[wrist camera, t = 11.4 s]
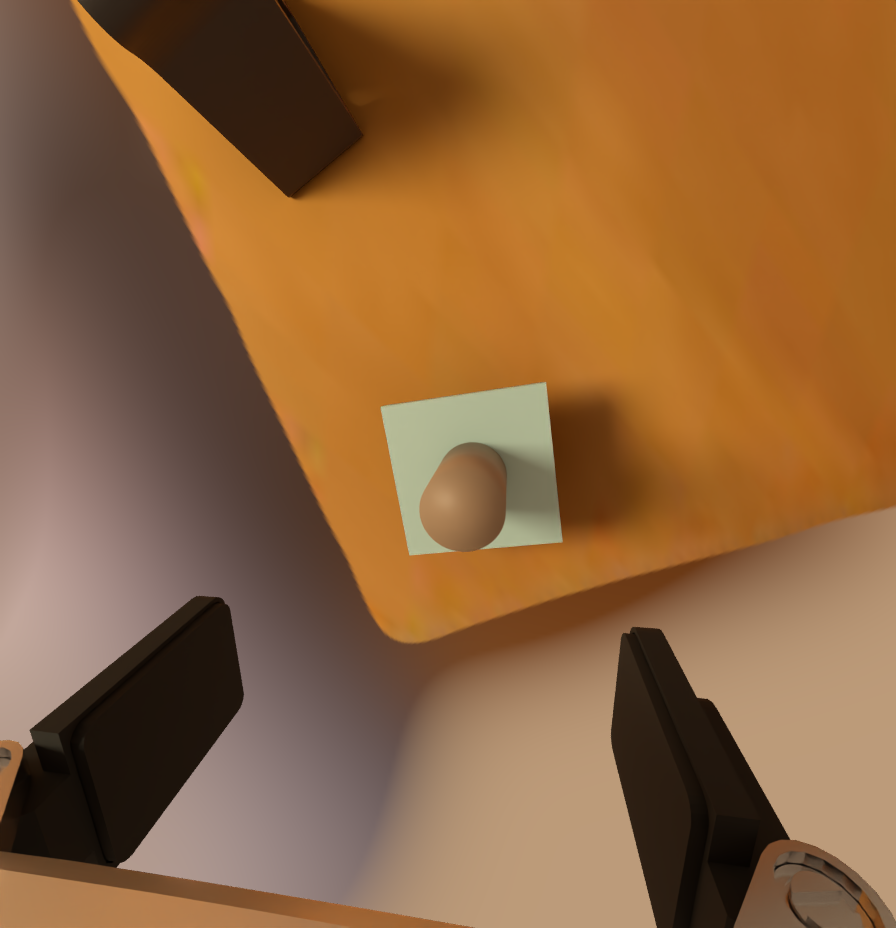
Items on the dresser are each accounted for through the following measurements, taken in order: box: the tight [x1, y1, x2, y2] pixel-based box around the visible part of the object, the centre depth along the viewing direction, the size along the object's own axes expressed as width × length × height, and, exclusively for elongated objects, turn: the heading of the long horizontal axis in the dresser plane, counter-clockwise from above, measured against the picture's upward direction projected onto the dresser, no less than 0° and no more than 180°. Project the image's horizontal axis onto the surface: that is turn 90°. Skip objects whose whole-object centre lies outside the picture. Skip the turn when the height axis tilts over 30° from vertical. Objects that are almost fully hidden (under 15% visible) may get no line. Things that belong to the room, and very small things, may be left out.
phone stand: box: [78, 0, 363, 197], centre depth 21 cm, size 9×6×12 cm, turn 32°
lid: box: [381, 382, 563, 555], centre depth 23 cm, size 10×10×7 cm
